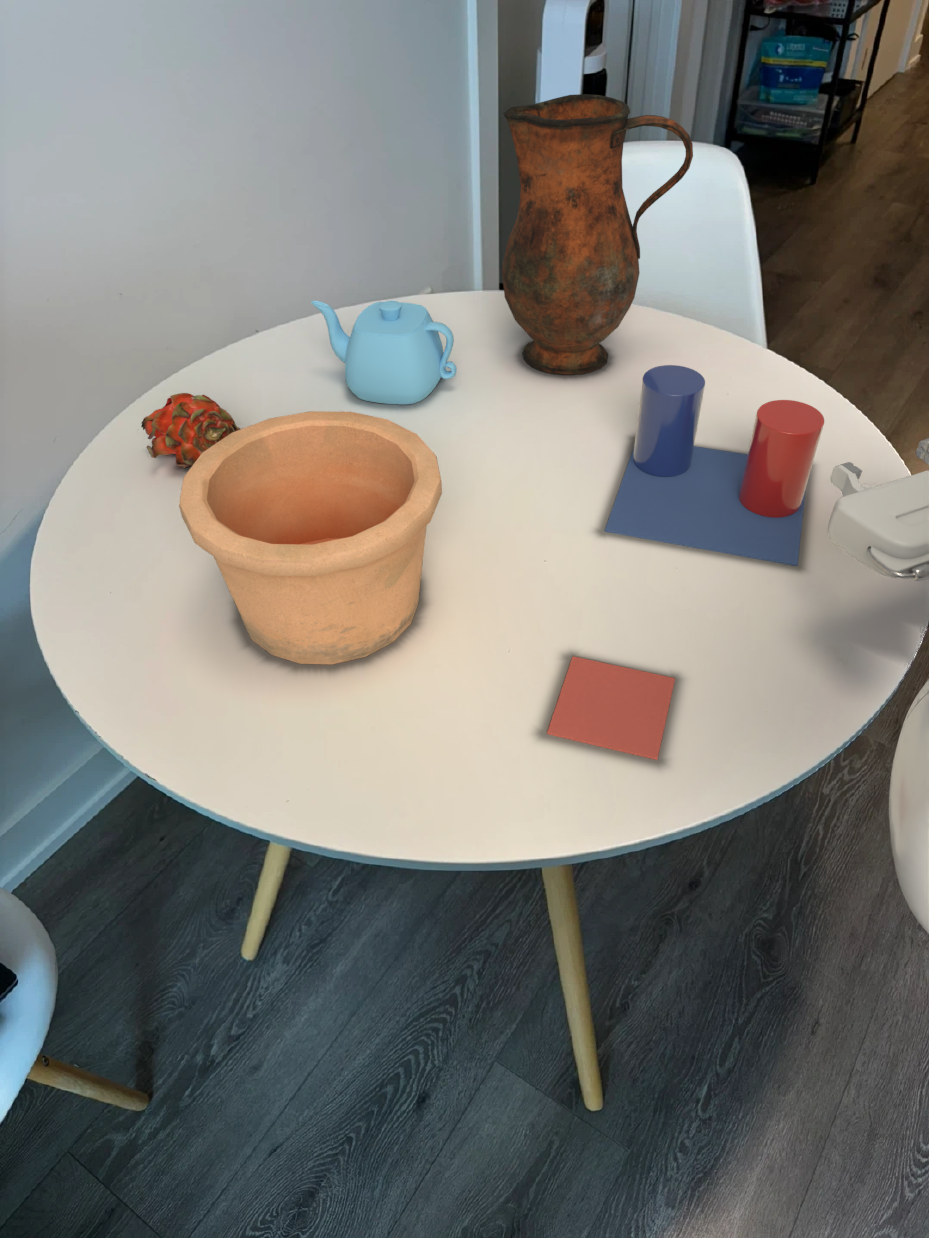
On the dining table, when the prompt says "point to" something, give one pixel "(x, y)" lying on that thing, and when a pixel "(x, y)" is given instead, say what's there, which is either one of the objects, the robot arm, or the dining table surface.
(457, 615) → the dining table surface
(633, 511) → the blue mat
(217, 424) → the dragon fruit
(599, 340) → the pitcher
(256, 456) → the pottery
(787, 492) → the red canister
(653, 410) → the blue canister
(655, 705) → the red mat
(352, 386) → the teapot
